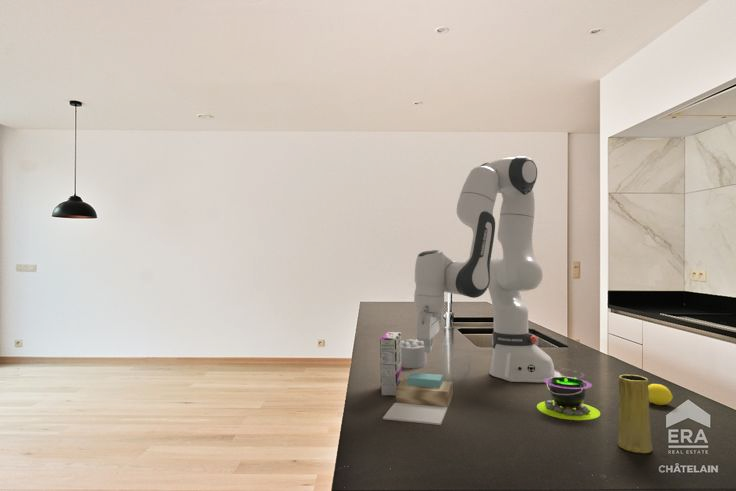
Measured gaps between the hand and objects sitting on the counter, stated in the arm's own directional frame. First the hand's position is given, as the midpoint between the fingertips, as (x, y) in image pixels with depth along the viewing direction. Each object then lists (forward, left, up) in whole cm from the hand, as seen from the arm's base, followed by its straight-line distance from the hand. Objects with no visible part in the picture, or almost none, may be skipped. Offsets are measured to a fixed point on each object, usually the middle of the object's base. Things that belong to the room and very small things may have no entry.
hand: (428, 351), depth 136 cm
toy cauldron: (-37, +7, -12) cm, 40 cm away
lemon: (-60, -5, -12) cm, 62 cm away
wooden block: (0, +8, -11) cm, 14 cm away
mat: (0, +21, -11) cm, 24 cm away
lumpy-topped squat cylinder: (+11, -32, -12) cm, 36 cm away
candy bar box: (+10, +3, -12) cm, 16 cm away
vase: (-47, +28, -12) cm, 57 cm away
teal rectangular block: (0, +7, -7) cm, 10 cm away
